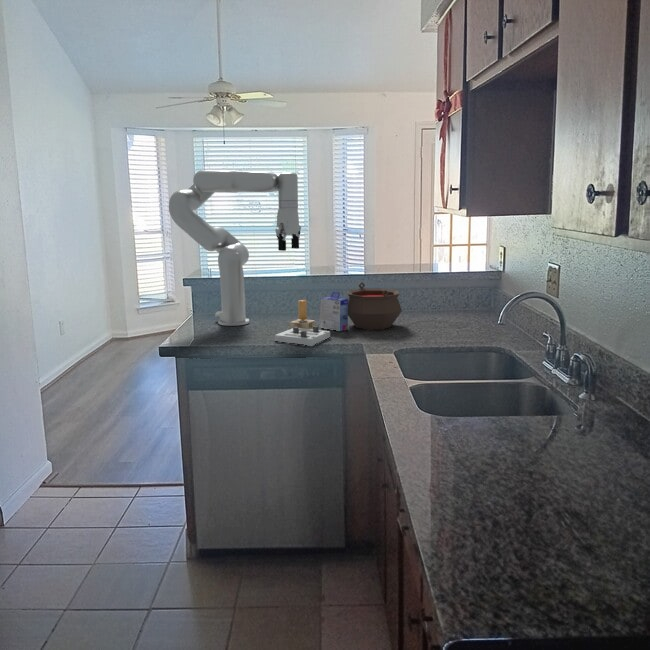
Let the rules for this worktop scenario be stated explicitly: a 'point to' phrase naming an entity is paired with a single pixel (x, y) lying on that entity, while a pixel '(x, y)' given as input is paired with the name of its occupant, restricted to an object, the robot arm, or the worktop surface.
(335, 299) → the ink cartridge box
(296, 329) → the tab
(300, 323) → the stand
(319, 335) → the switch bank
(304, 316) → the tan rounded cylinder
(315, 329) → the tab
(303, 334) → the tab
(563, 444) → the worktop surface
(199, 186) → the robot arm
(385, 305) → the brown cauldron pot
